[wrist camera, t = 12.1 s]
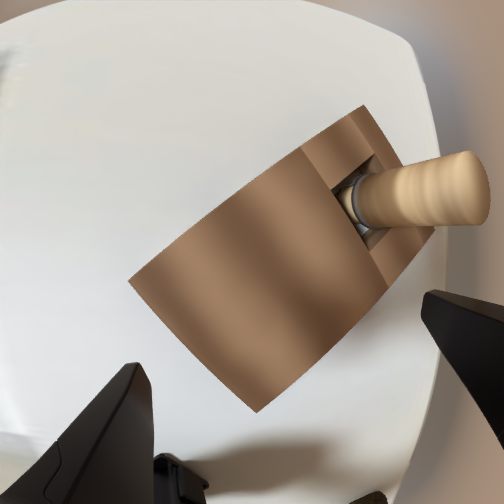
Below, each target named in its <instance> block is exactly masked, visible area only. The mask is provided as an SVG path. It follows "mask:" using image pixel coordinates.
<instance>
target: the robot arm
mask: <svg viewBox="0 0 504 504" xmlns="http://www.w3.org/2000/svg"><path fill="white" fill-rule="evenodd" d="M421 318H422V321H423V322H424V324H425V326H426V327H427V329H428V330H429V332H430V334H431V335H432V337H433V339H434V340H435V342H436V344H437V346H438V347H439V349H440V351H441V352H442V354H443V355H444V356H445V358H446V359H447V361H448V362H449V364H450V365H451V366H452V368H453V369H454V371H455V372H456V374H457V375H458V376H459V378H460V379H461V381H462V382H463V384H464V385H465V387H466V388H467V390H468V391H469V393H470V394H471V396H472V397H473V399H474V400H475V402H476V404H477V405H478V407H479V408H480V410H481V412H482V413H483V415H484V416H485V418H486V420H487V421H488V423H489V425H490V426H491V428H492V430H493V431H494V433H495V435H496V437H497V438H498V440H499V442H500V444H501V446H502V448H503V450H504V306H502V305H498V304H494V303H490V302H486V301H482V300H478V299H473V298H469V297H465V296H461V295H457V294H452V293H449V292H445V291H440V290H436V289H435V290H431V291H429V292H426V293H425V295H424V298H423V303H422V309H421ZM153 454H154V423H153V408H152V388H151V384H150V381H149V379H148V377H147V375H146V373H145V371H144V369H143V367H142V366H141V364H140V363H138V362H135V363H127V364H125V365H124V366H123V367H122V368H121V369H120V370H119V372H118V373H117V374H116V375H115V376H114V377H113V378H112V379H111V380H110V381H109V382H108V383H107V385H106V386H105V387H104V388H103V389H102V390H101V391H100V392H99V393H98V394H97V396H96V397H95V398H94V399H93V400H92V401H91V402H90V403H89V404H88V405H87V407H86V408H85V409H84V410H83V411H82V412H81V413H80V414H79V415H78V417H77V418H76V419H75V420H74V421H73V422H72V423H71V424H70V425H69V427H68V428H67V429H66V430H65V431H64V432H63V433H62V434H61V436H60V437H59V438H58V439H57V441H55V442H54V443H53V444H52V446H51V447H50V448H49V449H48V450H47V451H46V452H45V453H44V454H43V455H42V457H41V458H40V459H39V460H38V461H37V462H36V463H35V464H34V465H33V466H32V467H31V468H30V469H29V470H27V471H26V472H25V473H24V474H23V475H22V476H21V477H20V478H19V479H18V480H17V481H16V482H14V483H13V484H12V485H11V486H10V487H9V488H8V489H7V490H6V491H5V492H3V493H2V494H1V495H0V504H206V500H205V495H204V491H203V490H205V489H207V488H208V487H209V483H208V482H207V481H205V480H204V479H202V478H200V477H199V476H198V475H196V474H194V473H193V472H191V471H189V470H188V469H186V468H185V467H183V466H180V465H179V464H177V463H176V462H174V461H173V460H171V459H170V458H168V457H167V456H165V455H162V454H161V455H157V456H156V457H154V458H153ZM161 459H164V460H161Z"/></svg>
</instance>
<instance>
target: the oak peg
mask: <svg viewBox="0 0 504 504" xmlns="http://www.w3.org/2000/svg"><path fill="white" fill-rule="evenodd" d="M337 201H338V202H339V204H340V205H341V207H342V209H343V210H344V212H345V213H346V215H347V216H348V218H349V220H350V221H351V223H352V224H354V223H361V224H362V225H363V226H365V227H367V228H369V229H383V228H385V227H409V226H452V225H453V226H455V225H456V226H457V225H481V224H483V223H484V222H485V221H486V219H487V217H488V214H489V209H490V187H489V182H488V178H487V174H486V171H485V169H484V167H483V165H482V163H481V161H480V160H479V158H478V157H477V156H476V155H475V154H474V153H473V152H471V151H464V152H459V153H455V154H451V155H447V156H443V157H438V158H434V159H430V160H426V161H422V162H418V163H414V164H410V165H407V166H403V167H399V168H395V169H391V170H388V171H384V172H380V173H369V174H365V175H363V176H361V177H360V178H358V179H357V181H356V182H355V184H354V185H351V186H348V187H345V188H343V189H342V190H341V191H340V192H339V193H338V195H337Z"/></svg>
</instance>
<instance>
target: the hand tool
mask: <svg viewBox="0 0 504 504" xmlns="http://www.w3.org/2000/svg"><path fill="white" fill-rule="evenodd" d="M349 504H388V502H387V498H386V496H385V495H384V494H383V493H382V492H380V491H378V492H375V493H372V494H369V495H366V496H365V497H362V498H360V499H358V500H355V501H353V502H351V503H349Z"/></svg>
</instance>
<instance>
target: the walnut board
mask: <svg viewBox="0 0 504 504" xmlns="http://www.w3.org/2000/svg"><path fill="white" fill-rule="evenodd" d="M357 167H358V168H359V170H360V171H361V173H362V174H363V175H365V174H369V173H380V172H384V171H388V170H391V169H395V168H399V167H403V165H402V163H401V162H400V160H399V158H398V156H397V155H396V153H395V151H394V150H393V148H392V146H391V145H390V143H389V142H388V140H387V138H386V137H385V135H384V134H383V132H382V131H381V129H380V127H379V126H378V124H377V123H376V121H375V120H374V118H373V117H372V116H371V114H370V113H369V111H368V110H367V108H366V107H365V106H364V105H362V106H360V107H359V108H357V109H356V110H354V111H352V112H351V113H349V114H348V115H346V116H344V117H343V118H341V119H340V120H338V121H337V122H335V123H334V124H332V125H331V126H329V127H328V128H326V129H325V130H323V131H322V132H320V133H319V134H317V135H316V136H314V137H313V138H311V139H310V140H308V141H307V142H306V143H304V144H303V145H301V146H300V147H298V148H297V149H295V150H294V151H293V152H291V153H290V154H288V155H287V156H285V157H284V158H283V159H281V160H280V161H278V162H277V163H276V164H274V165H273V166H271V167H270V168H269V169H267V170H266V171H265V172H263V173H262V174H260V175H259V176H258V177H256V178H255V179H254V180H252V181H251V182H250V183H248V184H247V185H246V186H244V187H243V188H242V189H240V190H239V191H238V192H236V193H235V194H234V195H232V196H231V197H230V198H228V199H227V200H226V201H224V202H223V203H222V204H220V205H219V206H218V207H217V208H215V209H214V210H213V211H211V212H210V213H209V214H208V215H206V216H205V217H204V218H202V219H201V220H200V221H199V222H197V223H196V224H195V225H194V226H192V227H191V228H190V229H189V230H187V231H186V232H185V233H184V234H182V235H181V236H180V237H179V238H178V239H176V240H175V241H174V242H173V243H171V244H170V245H169V246H168V247H167V248H165V249H164V250H163V251H162V252H161V253H159V254H158V255H157V256H156V257H155V258H153V259H152V260H151V261H150V262H149V263H148V264H146V265H145V266H144V267H143V268H142V269H140V270H139V271H138V272H137V273H136V274H135V275H134V276H133V277H131V278H130V279H129V280H128V282H129V283H130V284H131V286H132V287H133V288H134V289H135V290H136V292H137V293H138V294H139V295H140V296H141V298H142V299H143V300H144V301H145V302H146V303H147V305H148V306H149V307H150V308H151V309H152V310H153V312H154V313H155V314H156V315H157V316H158V317H159V318H160V319H161V321H162V322H163V323H164V324H165V325H166V326H167V327H168V328H169V329H170V330H171V332H172V333H173V334H174V335H175V336H176V337H177V338H178V339H179V340H180V341H181V342H182V343H183V344H184V345H185V346H186V347H187V348H188V349H189V350H190V352H191V353H192V354H193V355H194V356H195V357H196V358H197V359H198V360H199V361H200V362H201V363H202V364H203V365H204V366H205V367H206V368H207V369H208V370H210V371H211V372H212V373H213V374H214V375H215V376H216V377H217V378H218V379H219V380H220V381H221V382H222V383H223V384H224V385H225V386H226V387H227V388H229V389H230V390H231V391H232V392H233V393H234V394H235V395H236V396H237V397H238V398H240V399H241V400H242V401H243V402H244V403H245V404H246V405H247V406H249V407H250V408H251V409H252V410H253V411H254V412H256V413H257V412H259V411H260V410H261V409H262V408H264V407H265V406H266V405H267V404H269V403H270V402H271V401H272V400H274V399H275V398H276V397H277V396H279V395H280V394H281V393H282V392H283V391H285V390H286V389H287V388H288V387H289V386H290V385H292V384H293V383H294V382H295V381H296V380H297V379H299V378H300V377H301V376H302V375H303V374H304V373H305V372H306V371H308V370H309V369H310V368H311V367H312V366H313V365H314V364H315V363H316V362H317V361H319V360H320V359H321V358H322V357H323V356H324V355H325V354H326V353H327V352H328V351H329V350H330V349H331V348H332V347H333V346H334V345H335V344H336V343H337V342H338V341H339V340H340V339H342V338H343V337H344V336H345V335H346V334H347V333H348V331H349V330H350V329H351V328H352V327H353V326H354V325H355V324H356V323H357V322H358V321H359V320H360V319H361V318H362V317H363V316H364V315H365V314H366V313H367V312H368V311H369V310H370V308H371V307H372V306H373V305H374V304H375V303H376V302H377V301H378V300H379V299H380V297H381V296H382V295H383V294H384V293H385V292H386V291H387V289H388V288H389V287H390V286H391V285H392V284H393V283H394V281H395V280H396V279H397V278H398V277H399V275H400V274H401V273H402V272H403V271H404V269H405V268H406V267H407V266H408V264H409V263H410V262H411V261H412V260H413V258H414V257H415V256H416V254H417V253H418V252H419V251H420V249H421V248H422V247H423V245H424V244H425V243H426V241H427V240H428V239H429V238H430V236H431V235H432V233H433V232H434V231H435V229H434V227H433V226H409V227H385V228H383V229H369V230H368V231H367V232H366V233H365V234H364V235H363V236H362V237H360V236H359V234H358V233H357V231H356V229H355V228H354V226H353V224H352V223H351V221H350V220H349V218H348V216H347V215H346V213H345V212H344V210H343V209H342V207H341V205H340V204H339V202H338V201H337V199H336V198H335V196H334V195H333V193H332V192H331V189H332V188H334V187H335V186H336V185H337V184H338V183H340V182H341V181H342V180H343V179H344V178H345V177H347V176H348V175H349V174H350V173H351V172H353V171H354V170H355V169H356V168H357Z"/></svg>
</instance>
